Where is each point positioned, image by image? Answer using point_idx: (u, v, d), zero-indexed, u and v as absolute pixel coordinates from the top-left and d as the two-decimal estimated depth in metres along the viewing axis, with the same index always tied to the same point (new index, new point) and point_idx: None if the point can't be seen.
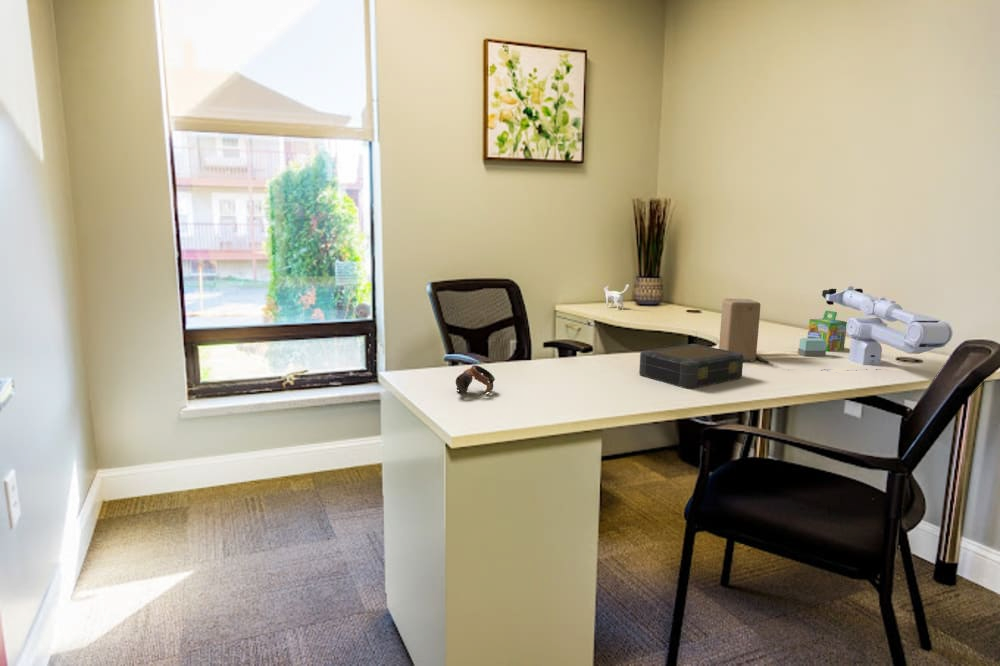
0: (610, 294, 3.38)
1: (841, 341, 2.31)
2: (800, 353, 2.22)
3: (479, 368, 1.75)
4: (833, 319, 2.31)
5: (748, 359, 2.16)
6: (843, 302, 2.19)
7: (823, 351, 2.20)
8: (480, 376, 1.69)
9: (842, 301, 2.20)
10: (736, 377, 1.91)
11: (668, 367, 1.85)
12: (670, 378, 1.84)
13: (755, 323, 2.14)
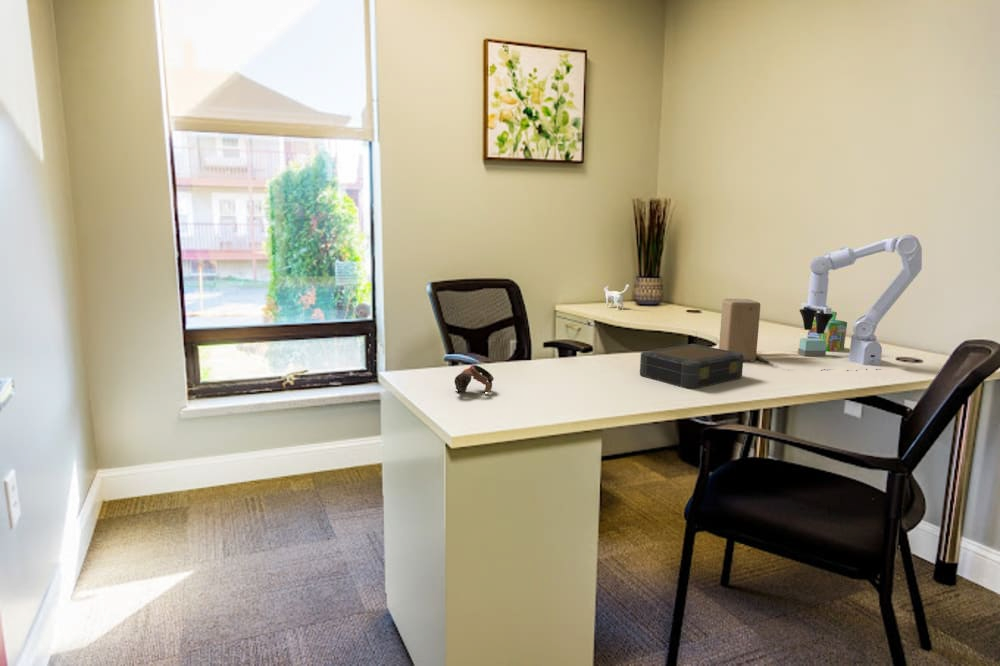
0: (610, 294, 3.38)
1: (841, 341, 2.31)
2: (800, 353, 2.22)
3: (478, 368, 1.76)
4: (833, 319, 2.31)
5: (748, 359, 2.16)
6: (824, 303, 2.16)
7: (823, 351, 2.20)
8: (479, 376, 1.70)
9: (824, 304, 2.16)
10: (736, 377, 1.91)
11: (669, 367, 1.85)
12: (672, 378, 1.84)
13: (755, 323, 2.14)
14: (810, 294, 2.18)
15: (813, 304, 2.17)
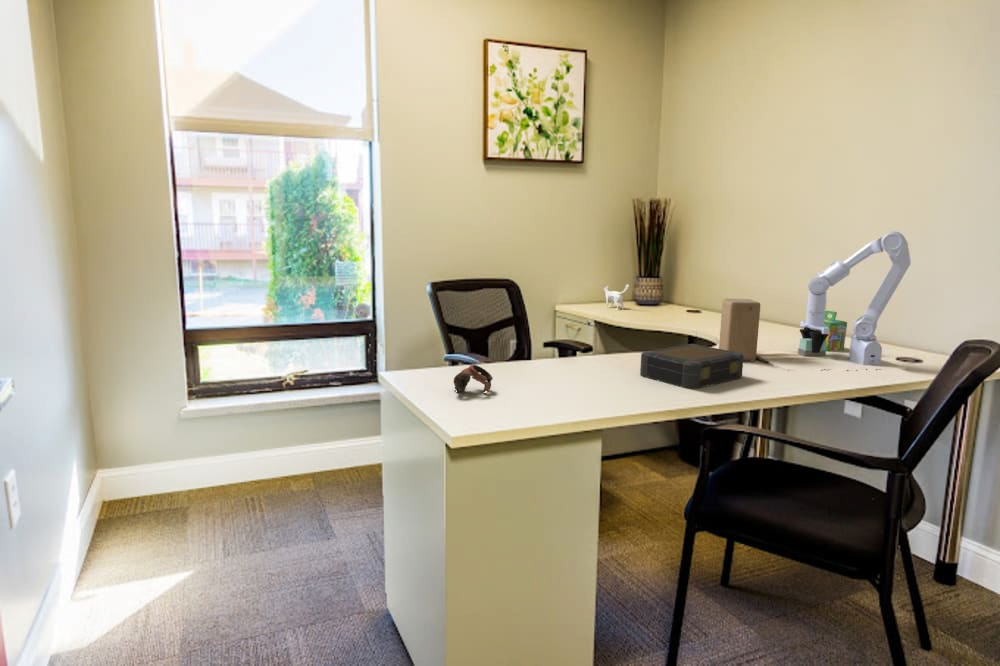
0: (610, 294, 3.38)
1: (841, 341, 2.31)
2: (800, 353, 2.22)
3: (477, 367, 1.76)
4: (833, 319, 2.31)
5: (748, 359, 2.16)
6: (822, 323, 2.18)
7: (823, 351, 2.20)
8: (478, 375, 1.70)
9: (822, 324, 2.17)
10: (737, 377, 1.91)
11: (670, 368, 1.84)
12: (673, 379, 1.84)
13: (755, 323, 2.14)
14: (808, 314, 2.19)
15: (811, 324, 2.18)
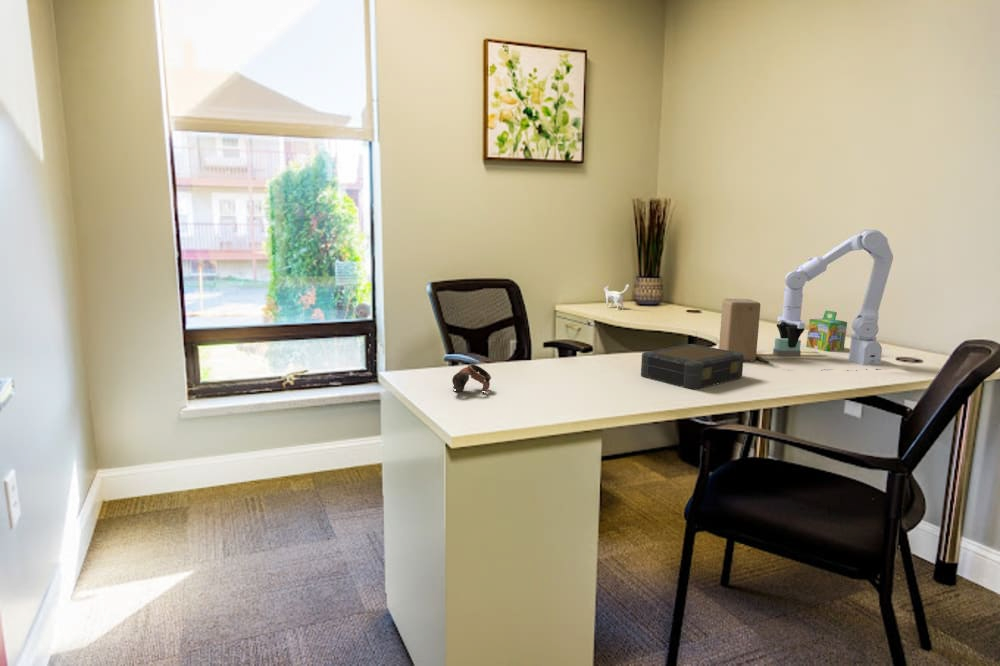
0: (610, 294, 3.38)
1: (841, 341, 2.31)
2: (775, 353, 2.21)
3: (475, 367, 1.77)
4: (833, 319, 2.31)
5: (748, 359, 2.16)
6: (798, 317, 2.17)
7: (798, 351, 2.19)
8: (476, 375, 1.71)
9: (798, 319, 2.17)
10: (737, 377, 1.91)
11: (672, 368, 1.84)
12: (674, 379, 1.84)
13: (755, 323, 2.14)
14: (784, 309, 2.18)
15: (787, 319, 2.17)
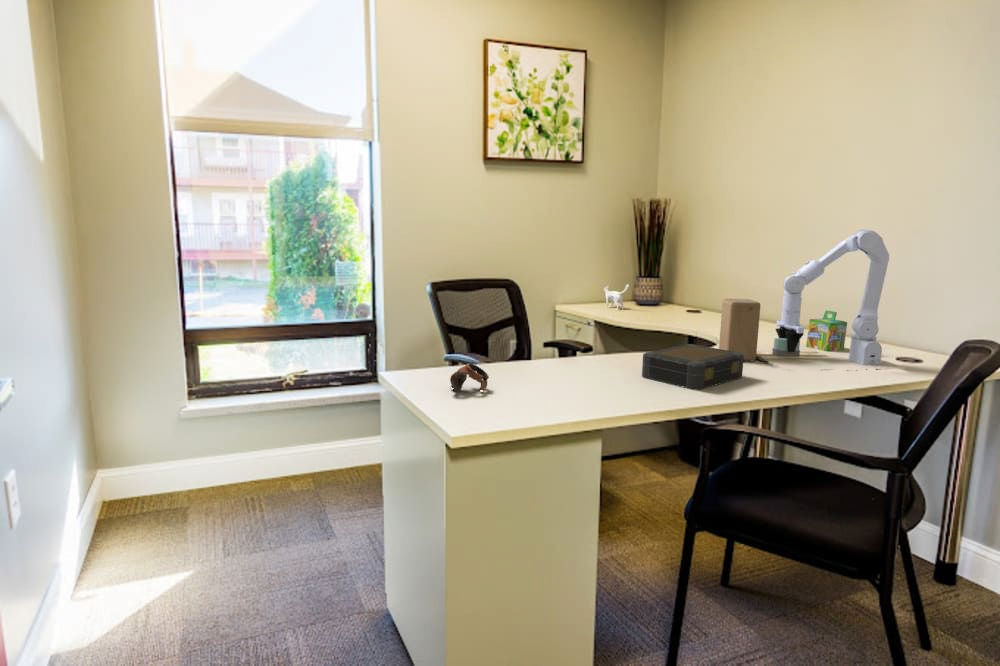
0: (610, 294, 3.38)
1: (841, 341, 2.31)
2: (774, 353, 2.21)
3: (473, 366, 1.78)
4: (833, 319, 2.31)
5: (748, 359, 2.16)
6: (797, 322, 2.17)
7: (797, 351, 2.19)
8: (474, 374, 1.72)
9: (797, 323, 2.17)
10: (737, 377, 1.92)
11: (674, 369, 1.83)
12: (677, 380, 1.83)
13: (755, 323, 2.14)
14: (783, 313, 2.18)
15: (786, 323, 2.17)
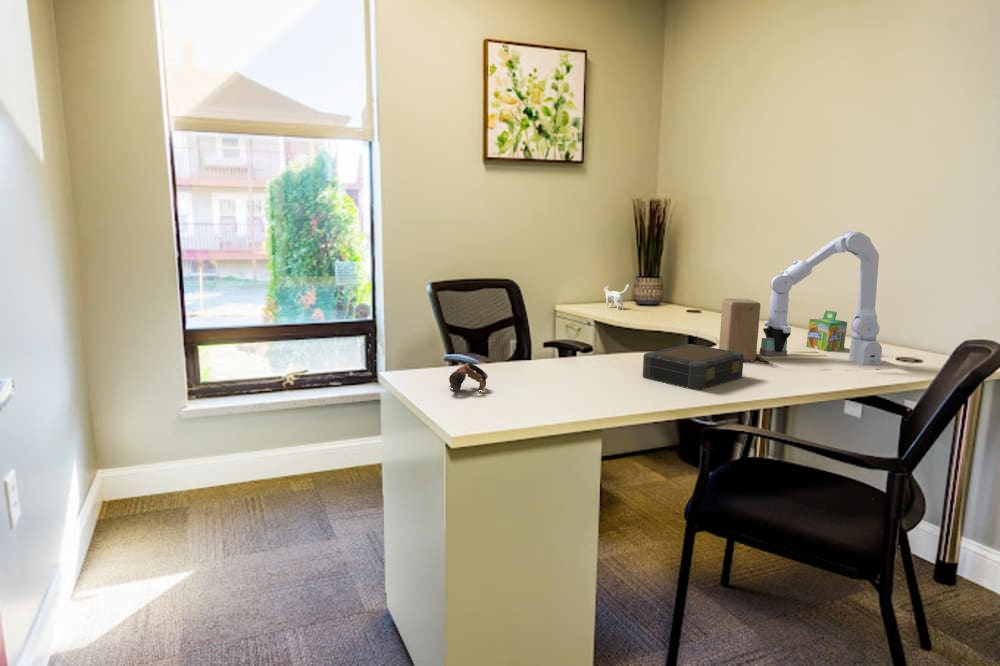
0: (610, 294, 3.38)
1: (841, 341, 2.31)
2: (761, 353, 2.21)
3: (472, 366, 1.78)
4: (833, 319, 2.31)
5: (748, 359, 2.16)
6: (785, 322, 2.17)
7: (784, 351, 2.19)
8: (473, 373, 1.72)
9: (784, 323, 2.16)
10: (738, 377, 1.92)
11: (675, 369, 1.83)
12: (678, 380, 1.83)
13: (755, 323, 2.14)
14: (770, 313, 2.18)
15: (773, 323, 2.17)
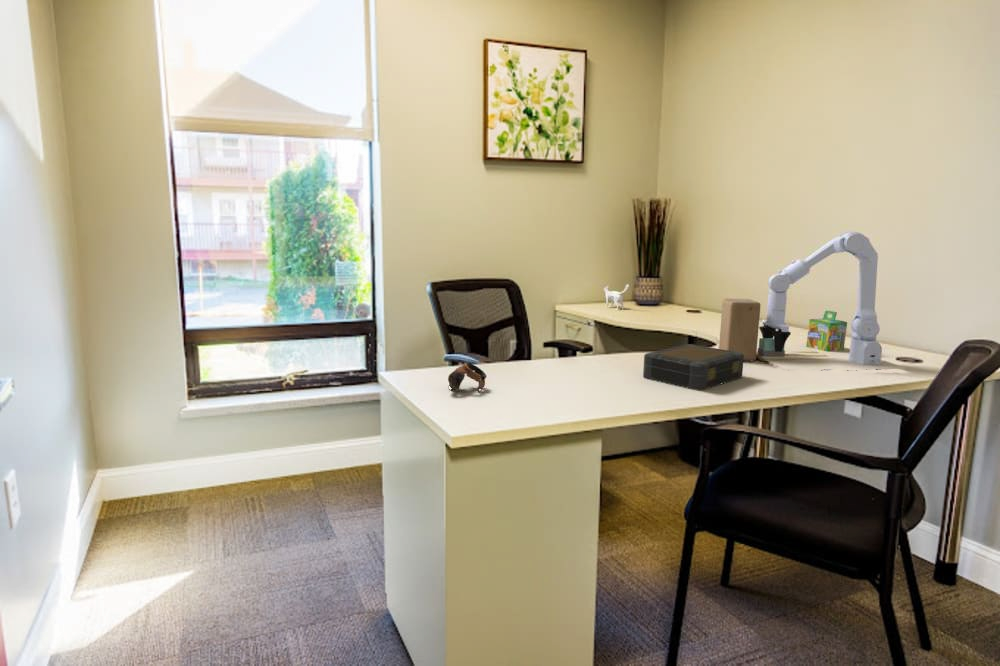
0: (610, 294, 3.38)
1: (841, 341, 2.31)
2: (759, 353, 2.21)
3: (471, 365, 1.78)
4: (833, 319, 2.31)
5: (748, 359, 2.16)
6: (783, 320, 2.16)
7: (782, 351, 2.19)
8: (472, 373, 1.72)
9: (782, 322, 2.16)
10: (738, 376, 1.92)
11: (676, 369, 1.83)
12: (679, 380, 1.82)
13: (755, 323, 2.14)
14: (768, 312, 2.18)
15: (771, 322, 2.17)
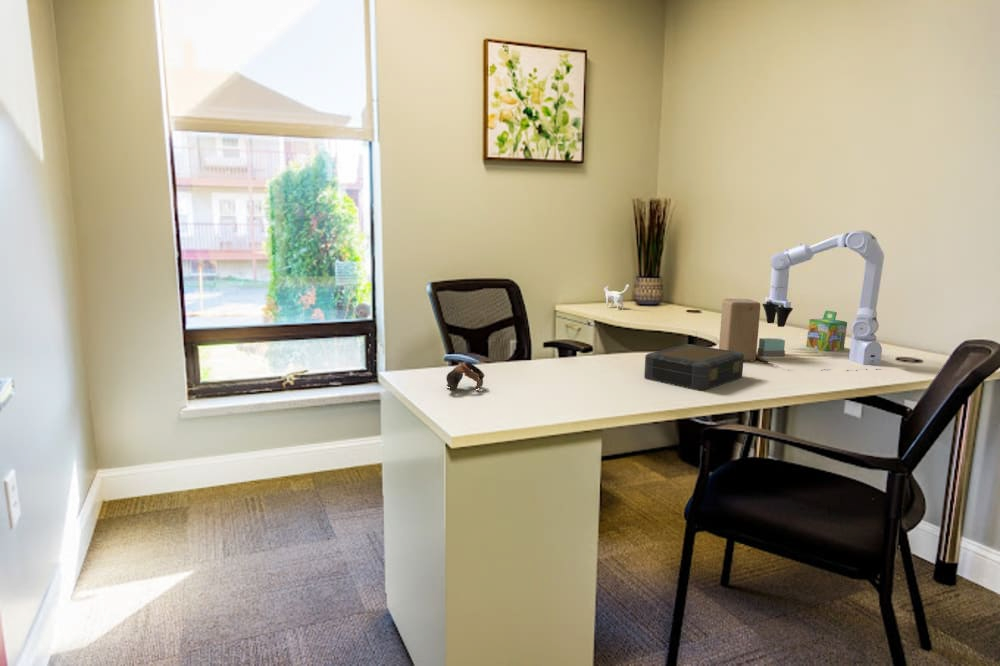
0: (610, 294, 3.38)
1: (841, 341, 2.31)
2: (759, 353, 2.21)
3: (469, 365, 1.79)
4: (833, 319, 2.31)
5: (748, 359, 2.16)
6: (785, 297, 2.26)
7: (782, 351, 2.19)
8: (470, 372, 1.73)
9: (784, 298, 2.26)
10: (738, 376, 1.92)
11: (678, 369, 1.82)
12: (681, 381, 1.82)
13: (755, 323, 2.14)
14: (771, 289, 2.28)
15: (774, 298, 2.27)
